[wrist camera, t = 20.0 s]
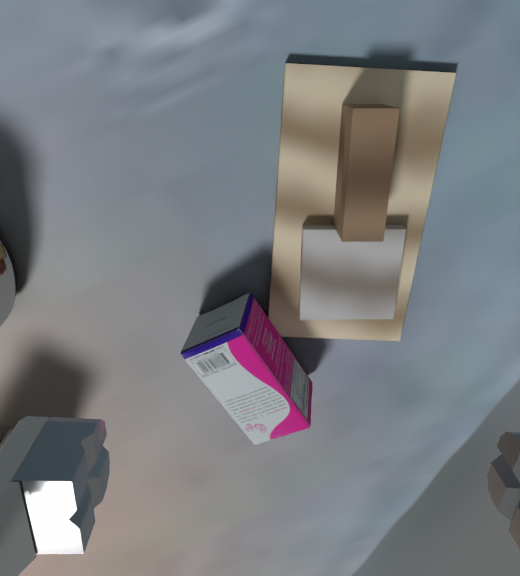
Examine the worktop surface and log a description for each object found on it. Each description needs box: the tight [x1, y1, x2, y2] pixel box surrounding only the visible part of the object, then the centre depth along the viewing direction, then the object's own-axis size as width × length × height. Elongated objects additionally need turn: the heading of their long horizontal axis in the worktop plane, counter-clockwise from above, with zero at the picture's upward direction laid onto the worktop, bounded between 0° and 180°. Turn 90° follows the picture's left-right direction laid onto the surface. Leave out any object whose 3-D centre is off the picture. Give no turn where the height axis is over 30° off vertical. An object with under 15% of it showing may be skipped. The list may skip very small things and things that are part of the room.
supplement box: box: [181, 293, 312, 445], centre depth 40 cm, size 6×6×12 cm
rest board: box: [268, 63, 456, 341], centre depth 37 cm, size 22×12×1 cm, turn 177°
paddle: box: [298, 104, 406, 320], centre depth 35 cm, size 17×8×4 cm, turn 0°
